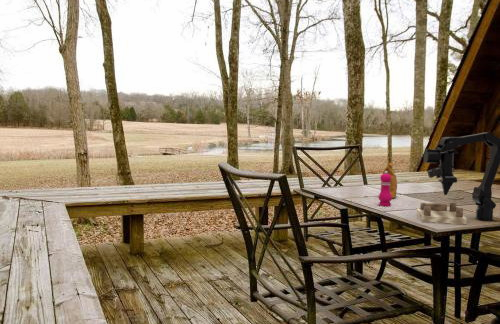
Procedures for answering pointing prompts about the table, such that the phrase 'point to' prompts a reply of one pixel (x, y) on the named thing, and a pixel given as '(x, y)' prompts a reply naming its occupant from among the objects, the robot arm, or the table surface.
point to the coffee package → (393, 180)
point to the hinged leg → (434, 206)
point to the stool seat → (442, 215)
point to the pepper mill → (385, 190)
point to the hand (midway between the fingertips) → (445, 194)
